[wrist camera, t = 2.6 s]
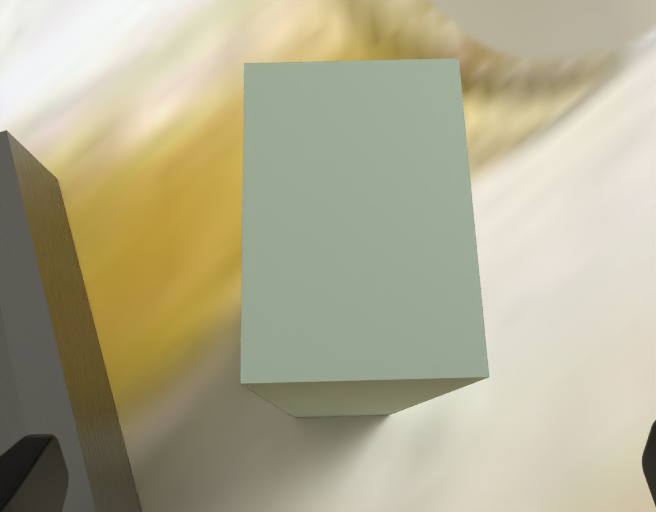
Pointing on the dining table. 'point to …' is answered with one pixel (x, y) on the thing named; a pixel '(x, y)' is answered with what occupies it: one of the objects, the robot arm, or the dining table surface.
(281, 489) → the dining table surface
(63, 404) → the track
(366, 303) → the panel
